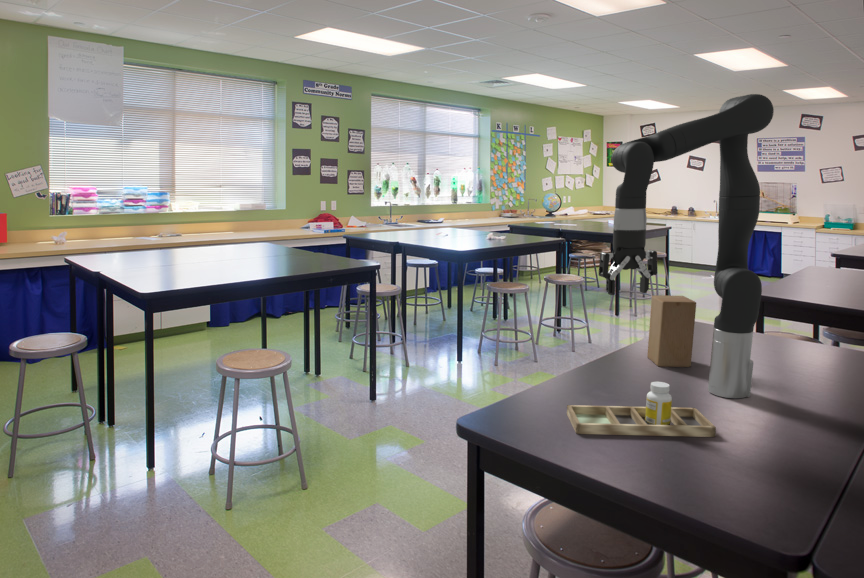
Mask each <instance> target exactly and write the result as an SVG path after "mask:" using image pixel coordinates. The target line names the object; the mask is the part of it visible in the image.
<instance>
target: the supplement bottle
mask: <svg viewBox="0 0 864 578" xmlns="http://www.w3.org/2000/svg"><path fill="white" fill-rule="evenodd" d="M670 388H671V387H670V384H669V383H667V382H664V381H651V382H650V391H648V392H647V394H646V399H645V400H646V402H645V403H646V404H645V407H646V414H645V417H644V421H645V423H646V424H647V425H671V421H670V420H671V407H672V406H673V405H672V404H673V400H672V399H673V397H672V395H671V394H670Z"/></svg>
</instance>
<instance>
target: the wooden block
mask: <svg viewBox="0 0 864 578" xmlns="http://www.w3.org/2000/svg"><path fill="white" fill-rule="evenodd" d="M696 311H697V302H696V301H695V300H692V299H691V298H688V297H687V296H684V295H664V294H663V295H655V294H654V295H652V296H651V304H650V315H649V316H650V317H649V328H648V329H649V330H648V341H647V344H648V345H647V355H646V356H647V359H649V361H651V362H652V363H653V364H655V365H656V367H658V368H659V367H661V368H662V367H664V368H665V367H667V368H669V367H670V368H673V367H674V368H691V365H692V358H693V357H692V355H693V345H694V333H695V323H696V322H695V321H696Z"/></svg>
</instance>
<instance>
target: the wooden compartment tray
mask: <svg viewBox="0 0 864 578" xmlns="http://www.w3.org/2000/svg"><path fill="white" fill-rule="evenodd" d="M645 414H646V406H626V405H625V406H624V405H623V406H622V405H620V406H619V405H578V404H576V405H575V404H572V405H571V404H569V405H568V404H567V405H566V415H567V417H568V419H569V422H570V424H571V426H572V428H573V430H574V431H575V434H576V435H609V436H610V435H611V436H612V435H614V436H615V435H616V436H653V437H654V436H658V437H699V438H701V437H702V438H704V437H705V438H707V437H708V438H715V437H716V432H717V427H716V426H715V425H714V424H713V423H712V422H711V421H710V420H709V419H708V418H707V417H706V416H705V415H703V413H701V411H700V410H698V409H697V408H696V407H679V406H678V407H675V406H673V407H672V406H671V420H670V423H671V424H670V425H647V424H646V423H645V419H643V418H645Z"/></svg>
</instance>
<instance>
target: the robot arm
mask: <svg viewBox="0 0 864 578" xmlns="http://www.w3.org/2000/svg"><path fill="white" fill-rule="evenodd" d="M774 110H775V109H774V105H773V103H772V101H771V99H770V98H768V97H767V96H765V95H763V94H759V93H751V94H746V95H740V96H735V97H732V98H729V99H727V100H725V102H723V104H722V105H721V107H720V109H719V112H717V113H715V114H712V115H708V116H705V117H702V118H697V119H694V120H691V121H686V122H682V123H680V124H676V125H673V126H671V127H667V128H666V129H663V130H660V131H658V132H656V133H654V134H651V135H648V136H645V137H640V138H637V139H634V140H630V141H626V142H624V143H621V144H620V145H618V146H617V147H616V148H615V149H614V151H613V152H612V155H611V164H612V165H613V168H615V170H616V171H618V172H619V173H624V176H623V181H622V183H621V184H619V185H617V187H616V190H615V201H614V202H615V203H614V208H615V209H614V214H613V215H614V216H613V230H612V233H613V235H612V249H613V250H612V252H604V251H602V252H600V253H599V254H600V255H599V263H598V264H599V266H598V276H599V277H601V278H604V279H605V280H606V281H605V286H606V287H605V291H606V293H607V294H608V295H610V296H615V292H616V279H615V278H616V277H617V275H618V274H620V273H621V272H622V270H623V271H627V270H635V271H637V272H638V273H639V275H640V277H639V292H640V293H642V294H647V292H648V291H649V289H650V277H652V276H657V274H658V252H657V251H656V250H654V249H653V250H652V249H649V250H645V247H646V238H647V222H648V221H647V219H648V218H647V210H646V209H647V208H646V207H647V190H648V187H649V184H650V182H651V181H650V180H651V177H652V173H653V169H654V163H659V162H664V161H668V160H672V159H675V158H677V157H679V156H682V155H685V154H687V153H690V152H692V151H695V150H697V149H700V148H702V147H704V146H705V147H706V146H707V145H709V144H713V143H715V142H718V141H719V159H720V160H719V163H720V164H719V190H718V191H719V194H718V228H717V229H718V233H717V234H718V235H717V236H718V248H717V257H716V262H715V263H716V264H715V270H714V276H713V288H714V291H715V292H716V294H717V295H718V296H719V297H720V298H721V306H720V311H719V314H718V315H716V316H715V317H714V322H713V332H712V343H711V351H710V352H711V354H710V365H709V375H708V381H707V383H708V385H707V386H708V387H707V391H708V392H709V393H711V394H713V395H715V396H717V397H720V398H726V399H743V398H746V397H748V398H750V397H751V390H752V389H751V388H752V379H753V373H754V371H753V370H754V360H752V359H751V355H752V344H753V337H754V328H755V325H756V322H758V319H759V318H758V317H759V313H760V308H761V301H762V291H763V287H762V286H763V285H762V280H761V279H760V277H759V275H758V274H757V273H755V272H754V271H752V270H749V265H748V263H749V261H748V259H749V257H748V256H749V253H748V252H749V244H750V241H751V238H752V235H753V233H754V231H755V229H756V226H757V223H758V220H759V215H760V205H761V187H760V183H759V180H758V178H757V175H756V173H755V171H754V169H753V167H752V164H751V162H750V158H749V151H748V141H749V140H748V139H749V138H748V137H749V135H751V134H755V133H759V132H761V131H763V130H764V129H766V128H767V126H769V125H770V123H771V121H772V120H773V117H774ZM645 259H646V261H647V266H646V265H645V263H644V262H643V261H644V260H645ZM612 260H613V262H612V264H611V265H609V264H610V262H611V261H612Z"/></svg>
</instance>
